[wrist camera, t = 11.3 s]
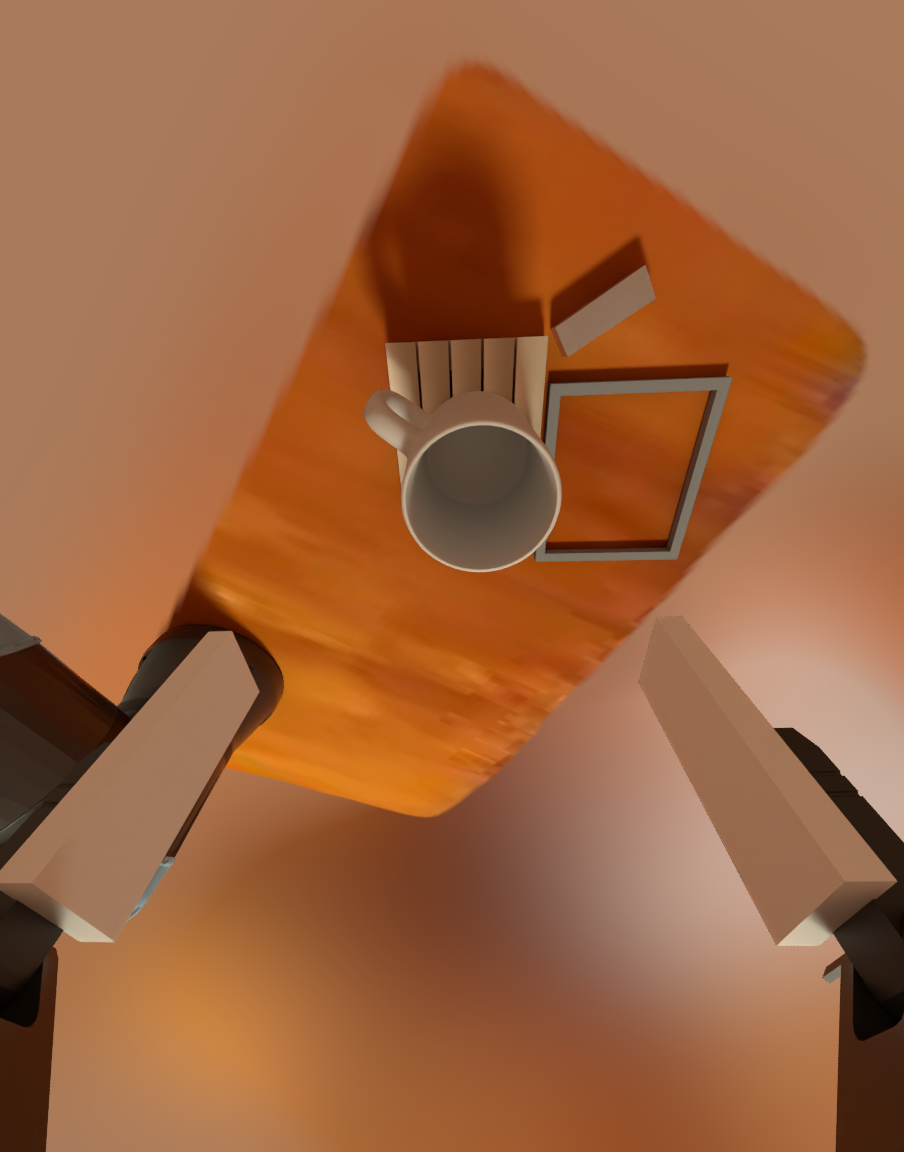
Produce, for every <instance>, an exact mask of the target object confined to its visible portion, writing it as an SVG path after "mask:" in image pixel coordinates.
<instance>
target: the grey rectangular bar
mask: <svg viewBox="0 0 904 1152" xmlns="http://www.w3.org/2000/svg"><path fill="white" fill-rule="evenodd" d="M654 299H656V297H655V294H654V291H653V287H652V284H651V281H650V278H649V274H648V271H647V268H646V265H644V266H641V267H639V268H637V269H635V270H633V271H632V272H630V273H629V274H628V275H626V276H625V277H623V278H622V279H620V280H619V281H618V282H616V283H615V284H613V285H612V286H610V287H609V288H607V289H606V290H605V291H603V292H602V293H600V294H599V295H597V296H596V297H595V298H593V299H592V300H590V301H589V302H587V303H586V304H585V305H583V306H582V307H580V308H579V309H577V310H576V311H575V312H573V313H572V314H570V315H569V316H567V317H566V318H564V319H563V320H562V321H560V322H559V323H557V324H556V325H554V326H553V327H552V328H550V329H551V331H552V333H553V336H554V338H555V340H556V343H557V345H558V347H559V350H560V352H561V354H562V356H565V357H568V356H570V355H571V354H573V353H574V352H576V351H577V350H579V349H580V348H582V347H583V346H585V345H586V344H588V343H589V342H591V341H592V340H594V339H595V338H597V337H598V336H600V335H601V334H603V333H604V332H606V331H607V330H609V329H610V328H612V327H614V326H615V325H617V324H618V323H620V322H621V321H623V320H624V319H626V318H627V317H629V316H630V315H632V314H633V313H635V312H636V311H638V310H639V309H641V308H642V307H644V306H645V305H647V304H648V303H650V302H651V301H653V300H654Z"/></svg>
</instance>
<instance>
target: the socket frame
mask: <svg viewBox="0 0 904 1152" xmlns="http://www.w3.org/2000/svg"><path fill="white" fill-rule="evenodd" d="M731 381H732V377H728V376H720V377H694V378H669V379H643V380H617V381H591V382H566V383H549V385H548V397H547V409H546V421H545V433H544V444H545V445H546V447H547V448H548V450H549V452H550V453H551V455H552V457H553V458H554V457H555V447H556V437H557V427H558V417H559V407H560V397H561V396H570V395H597V394H624V393H651V392H678V391H704V390H711V392H710V395H709V399H708V402H707V406H706V410H705V413H704V417H703V420H702V424H701V427H700V431H699V434H698V438H697V441H696V445H695V448H694V452H693V455H692V459H691V462H690V466H689V469H688V473H687V476H686V480H685V483H684V487H683V490H682V494H681V497H680V501H679V505H678V508H677V512H676V515H675V519H674V522H673V526H672V529H671V533H670V536H669V540H668V543H667V547H666V548H612V549H558V550H545V547H546V540H545V541H544V542H543V543H542V544H541V546H540V547H539V548H538V549H536V550H535V553H534V559H535V562H540V561H599V560H659V559H677V557H678V554H679V551H680V548H681V544H682V541H683V538H684V534H685V531H686V528H687V525H688V521H689V518H690V515H691V512H692V508H693V505H694V502H695V498H696V495H697V492H698V489H699V485H700V482H701V479H702V476H703V472H704V469H705V466H706V463H707V459H708V456H709V453H710V449H711V446H712V443H713V440H714V436H715V433H716V430H717V427H718V423H719V420H720V417H721V413H722V410H723V407H724V404H725V400H726V397H727V394H728V391H729V387H730V384H731Z"/></svg>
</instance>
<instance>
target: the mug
mask: <svg viewBox="0 0 904 1152" xmlns="http://www.w3.org/2000/svg"><path fill="white" fill-rule="evenodd" d="M364 417H365V419H366V421H367V424H368V425H369V426H370V428H371V429H372V430H373V431H374V432H375V433H377V434H378V435H379V436H380V437H381V438H383V439H384V440H385V441H387V442H388V443H389V444H391V445H392V446H394V447H395V448H396V449H398V450H399V451H400V452H402V453H403V454H404V455H405V456H406V457H407V464H406V469H405V473H404V477H403V482H402V489H401V506H402V511H403V516H404V519H405V522H406V525H407V527H408V529H409V531H410V533H411V535H412V536H413V538H414V539H415V541H416V542H417V543H418V544H419V545H420V547H421V548H422V549H423V550H424V551H425V552H427V553H428V554H429V555H430V556H431V557H433V558H434V559H436V560H437V561H439V562H441V563H443V564H445V565H447V566H450V567H452V568H455V569H459V570H464V571H470V572H488V571H495V570H500V569H503V568H506V567H509V566H512V565H514V564H516V563H518V562H520V561H522V560H523V559H525V558H527V557H528V556H529V555H531V554H532V553H533V552H534V551H535V550H536V549H538V548H539V547H540V546H541V544H542V543H543V542H544V541H545V540H546V538H547V537H548V535H549V534H550V532H551V531H552V529H553V527H554V525H555V523H556V520H557V517H558V514H559V511H560V505H561V497H562V488H561V480H560V475H559V471H558V468H557V466H556V463H555V461H554V458H553V457H552V455H551V453H550V452H549V450H548V448H547V447H546V445H545V444H544V443H543V441H542V440H541V439H540V437H539V436H538V435H537V433H536V432H535V431H534V429H533V428H532V427H531V425H530V424H529V422H528V421H527V419H526V417H525V416H524V415H523V413H522V412H521V411H520V410H519V409H518V408H517V407H516V406H515V405H514V404H513V403H512V402H510V401H509V400H507V399H506V398H504V397H502V396H500V395H497V394H494V393H490V392H485V391H472V392H466V393H462V394H459V395H457V396H454V397H452V398H450V399H449V400H447V401H446V402H444V403H443V404H442V405H440V406H439V407H438V408H437V409H436V411H435V412H434V413H433V414H429V413H427V412H425V411H424V410H422V409H421V408H420V407H418V406H417V405H415V404H414V403H412V402H411V401H410V400H408V399H407V398H405V397H403V396H402V395H400V394H398V393H396V392H394V391H391V390H379V391H376V392H375V393H374V394H372V395H371V396H370V398H369V399H368V401H367V404H366V406H365V410H364Z"/></svg>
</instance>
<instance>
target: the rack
mask: <svg viewBox="0 0 904 1152" xmlns="http://www.w3.org/2000/svg"><path fill="white" fill-rule="evenodd" d="M385 345H386V354H387V363H388V372H389V381H390V390H391V391H394V392H396V393H398V394H400V395H402V396H403V397H405V398H407V399H408V400H410V401H411V402H412V403H414V404H415V405H417V406H418V407H420V408H421V394H420V380H419V371H420V377H421V391H422V405H423V410H424V411H425V412H427V413H429V414H433V413H434V412H435V411H436V409H437V408H438V407H439V406H440V405H442V404H443V403H444V402H446V401H447V400H449V399H450V398H451V395H450V370H452V388H453V397H454V396H457V395H459V394H462V393H466V392H472V391H481V369H483V391H485V392H490V393H494V394H497V395H500V396H502V397H504V398H506V399H507V400H509V401H510V402H512V388H513V367H515V372H514V396H513V404H514V405H515V406H516V407H517V408H518V409H519V410H520V411H521V412H522V413H523V415H524V416H525V417H526V419H527V421H528V422H529V424H530V425H531V427H532V428H533V429H534V431H535V432H536V433H537V435H538V436H539V437H540V434H541V422H542V409H543V396H544V384H545V371H546V358H547V345H548V336H534V337H512V338H490V339H467V340H445V341H423V342H400V343H385ZM421 409H422V408H421ZM397 454H398V463H399V472H400V481H401V489H402V482H403V477H404V473H405V469H406V464H407V457H406V456H405V455H404V454H403V453H402V452H400V451H399V450H398V449H397Z"/></svg>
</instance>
